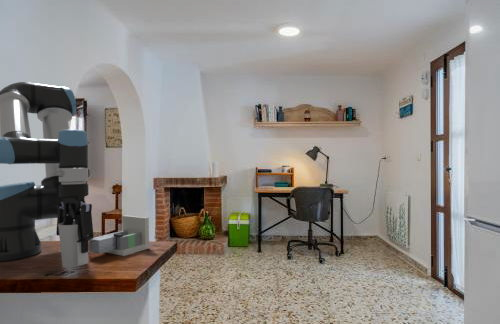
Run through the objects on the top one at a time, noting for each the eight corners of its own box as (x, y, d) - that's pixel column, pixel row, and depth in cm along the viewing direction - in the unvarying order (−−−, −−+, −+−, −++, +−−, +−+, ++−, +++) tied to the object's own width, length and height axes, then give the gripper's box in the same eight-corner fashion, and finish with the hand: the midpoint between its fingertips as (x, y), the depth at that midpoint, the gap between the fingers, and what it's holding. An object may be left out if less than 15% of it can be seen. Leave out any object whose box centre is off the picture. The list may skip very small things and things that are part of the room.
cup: (76, 269, 85) (75, 225, 85) (51, 268, 86) (51, 225, 86) (96, 260, 92) (95, 220, 93) (73, 259, 94) (72, 220, 94)
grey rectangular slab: (89, 251, 96) (89, 236, 96) (112, 245, 103) (112, 231, 103) (104, 254, 92) (104, 238, 92) (127, 248, 99) (126, 233, 99)
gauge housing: (100, 251, 103) (100, 219, 103) (126, 244, 111) (125, 215, 111) (123, 255, 97) (123, 222, 97) (149, 248, 105) (148, 217, 105)
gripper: (41, 183, 91) (42, 260, 91) (81, 184, 81) (82, 271, 81) (67, 182, 98) (68, 254, 98) (107, 182, 88) (108, 263, 87)
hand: (74, 261), depth 89 cm, fingers closed on cup, 7 cm apart
